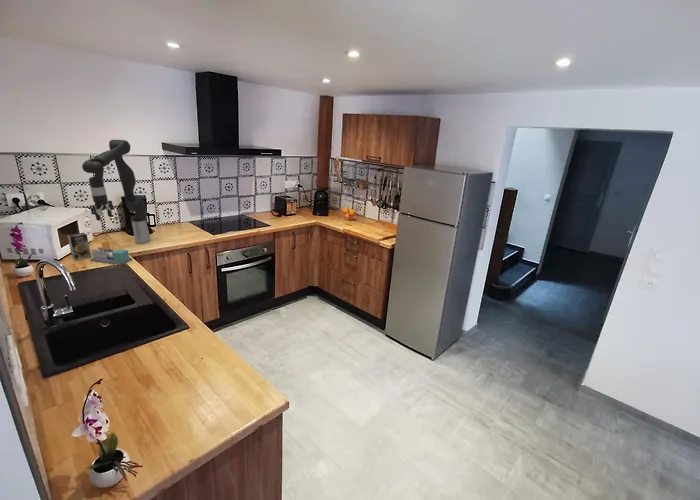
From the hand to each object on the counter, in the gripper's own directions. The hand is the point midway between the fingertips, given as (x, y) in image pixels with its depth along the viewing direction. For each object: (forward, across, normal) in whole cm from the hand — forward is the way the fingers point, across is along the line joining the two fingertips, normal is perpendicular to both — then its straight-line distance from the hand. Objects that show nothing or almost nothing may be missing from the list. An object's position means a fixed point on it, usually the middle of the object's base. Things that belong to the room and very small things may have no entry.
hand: (104, 218), depth 221 cm
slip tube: (+25, +5, +6) cm, 26 cm away
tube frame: (+27, +5, +3) cm, 28 cm away
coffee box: (+28, +6, -18) cm, 33 cm away
